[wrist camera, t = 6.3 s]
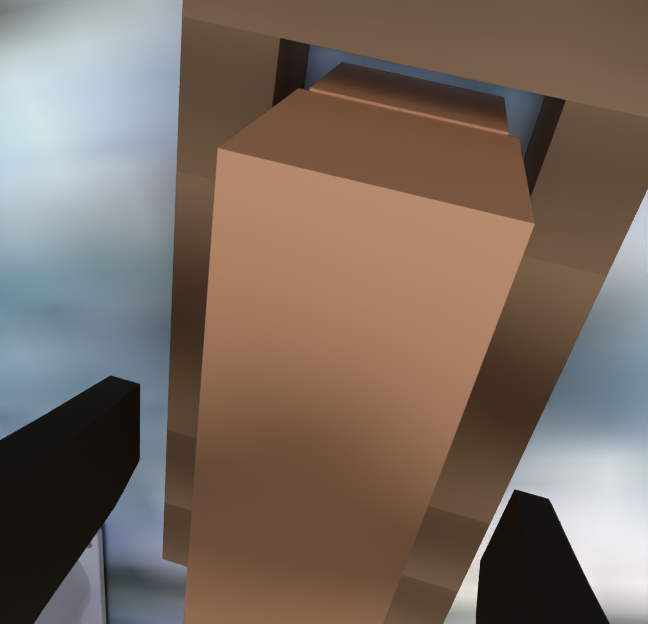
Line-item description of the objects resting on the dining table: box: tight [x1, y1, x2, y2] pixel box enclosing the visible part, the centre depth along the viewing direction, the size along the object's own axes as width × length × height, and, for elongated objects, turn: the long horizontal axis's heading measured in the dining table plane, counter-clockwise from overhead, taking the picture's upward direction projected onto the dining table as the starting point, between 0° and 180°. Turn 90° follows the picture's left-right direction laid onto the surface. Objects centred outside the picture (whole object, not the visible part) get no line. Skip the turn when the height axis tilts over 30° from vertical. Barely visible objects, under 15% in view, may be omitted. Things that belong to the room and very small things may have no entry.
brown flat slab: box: [163, 0, 648, 624], centre depth 16 cm, size 19×9×2 cm, turn 171°
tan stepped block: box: [184, 62, 535, 624], centre depth 14 cm, size 12×4×7 cm, turn 171°
